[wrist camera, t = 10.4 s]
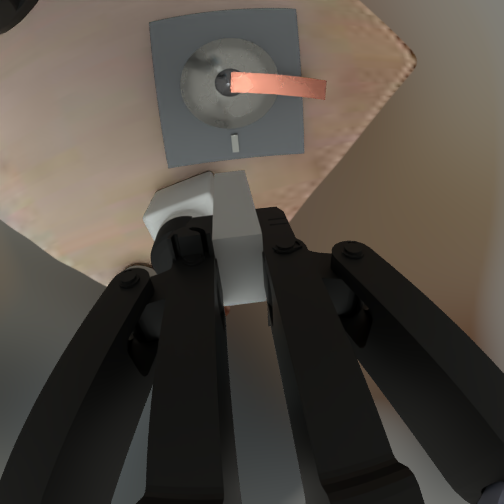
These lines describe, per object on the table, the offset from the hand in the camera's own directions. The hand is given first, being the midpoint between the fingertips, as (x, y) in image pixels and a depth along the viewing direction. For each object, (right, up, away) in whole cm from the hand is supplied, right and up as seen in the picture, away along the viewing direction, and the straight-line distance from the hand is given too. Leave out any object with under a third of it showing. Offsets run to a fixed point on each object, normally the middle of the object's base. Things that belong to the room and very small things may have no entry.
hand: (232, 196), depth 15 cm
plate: (-2, +16, +14) cm, 21 cm away
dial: (+1, +15, +12) cm, 20 cm away
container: (-6, +3, +22) cm, 23 cm away
